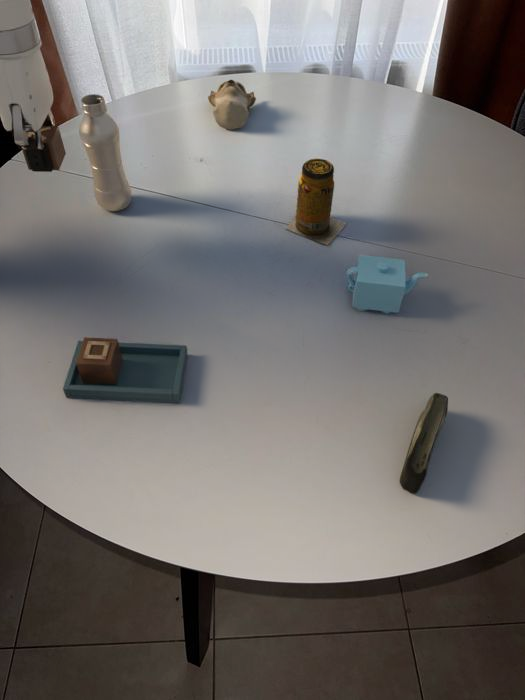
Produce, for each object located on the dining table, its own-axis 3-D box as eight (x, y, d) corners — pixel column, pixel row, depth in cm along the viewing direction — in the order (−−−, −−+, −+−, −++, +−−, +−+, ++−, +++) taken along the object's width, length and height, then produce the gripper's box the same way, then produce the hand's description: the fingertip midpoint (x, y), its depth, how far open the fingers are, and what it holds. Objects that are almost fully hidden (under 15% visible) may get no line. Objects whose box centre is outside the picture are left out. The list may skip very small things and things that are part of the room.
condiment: (305, 208, 107) (311, 150, 98) (346, 224, 104) (355, 166, 95) (285, 229, 103) (288, 170, 94) (326, 246, 101) (334, 187, 91)
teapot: (418, 292, 94) (429, 256, 88) (419, 319, 90) (430, 284, 84) (343, 283, 95) (350, 248, 89) (341, 310, 91) (348, 274, 85)
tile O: (83, 384, 80) (75, 362, 76) (91, 358, 83) (83, 336, 79) (116, 385, 80) (110, 364, 76) (123, 359, 83) (117, 337, 79)
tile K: (28, 169, 88) (18, 140, 84) (36, 153, 90) (27, 124, 87) (59, 170, 88) (50, 141, 84) (66, 153, 90) (58, 124, 87)
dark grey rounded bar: (428, 480, 67) (456, 384, 76) (403, 471, 68) (433, 376, 76) (418, 498, 71) (446, 404, 80) (394, 489, 72) (424, 397, 80)
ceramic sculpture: (203, 93, 116) (207, 64, 126) (205, 134, 123) (209, 103, 133) (256, 94, 116) (256, 65, 127) (255, 136, 123) (255, 105, 133)
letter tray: (66, 397, 79) (62, 388, 78) (81, 349, 85) (78, 340, 83) (179, 403, 79) (178, 394, 77) (187, 354, 85) (186, 345, 83)
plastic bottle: (118, 220, 104) (96, 114, 89) (89, 208, 106) (62, 102, 91) (140, 201, 108) (122, 96, 92) (112, 190, 110) (89, 85, 94)
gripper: (-1, 8, 80) (36, 131, 94) (-44, 64, 69) (6, 193, 83) (53, 9, 80) (83, 131, 94) (19, 65, 69) (58, 194, 83)
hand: (46, 159), depth 89 cm, fingers closed on tile K, 4 cm apart
